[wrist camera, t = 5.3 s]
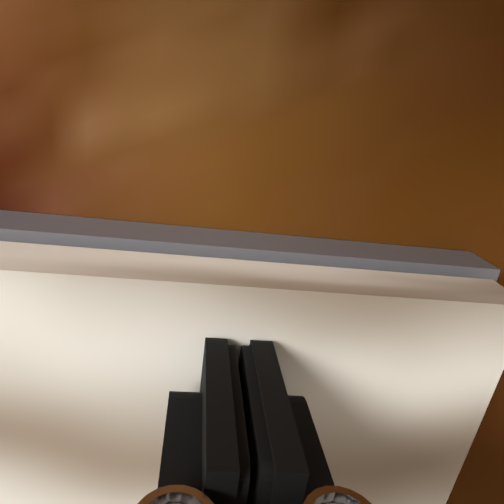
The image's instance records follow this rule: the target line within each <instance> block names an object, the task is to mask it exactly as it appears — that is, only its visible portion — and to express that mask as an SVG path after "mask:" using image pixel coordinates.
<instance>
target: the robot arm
mask: <svg viewBox="0 0 504 504" xmlns="http://www.w3.org/2000/svg"><path fill="white" fill-rule="evenodd" d="M138 504H372V503H370V502H369V501H368V500H367V499H366V498H365V497H363V496H362V495H360V494H359V493H357V492H355V491H353V490H351V489H348V488H345V487H341V486H335V485H334V482H333V479H332V476H331V473H330V470H329V467H328V464H327V461H326V458H325V455H324V452H323V449H322V446H321V443H320V440H319V437H318V434H317V431H316V428H315V425H314V422H313V419H312V416H311V413H310V410H309V407H308V404H307V401H306V399H305V397H303V396H292V395H288V394H287V390H286V387H285V383H284V380H283V376H282V372H281V369H280V365H279V362H278V358H277V354H276V351H275V347H274V344H273V341H263V340H250V345H249V346H246V345H242V346H241V350H240V357H239V365H238V359H237V351H236V345H228V339H225V338H207V337H205V345H204V355H203V364H202V374H201V383H200V392H180V391H169V398H168V406H167V414H166V423H165V431H164V439H163V447H162V456H161V464H160V472H159V480H158V488H157V489H155V490H154V491H152V492H150V493H149V494H147V495H145V496H144V497H143V498H142V500H141V501H140V502H139V503H138Z"/></svg>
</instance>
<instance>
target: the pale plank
mask: <svg viewBox="0 0 504 504" xmlns="http://www.w3.org/2000/svg"><path fill="white" fill-rule="evenodd" d="M205 337H207V338H225V339H228V345H236V351H237V359H238V365H239V357H240V350H241V346H242V345H246V346H249V345H250V340H263V341H273V344H274V347H275V351H276V354H277V358H278V362H279V365H280V369H281V372H282V376H283V380H284V383H285V387H286V390H287V394H288V395H292V396H303V397H305V399H306V401H307V404H308V407H309V410H310V413H311V416H312V419H313V422H314V425H315V428H316V431H317V434H318V437H319V440H320V443H321V446H322V449H323V452H324V455H325V458H326V461H327V464H328V467H329V470H330V473H331V476H332V479H333V482H334V485H335V486H341V487H345V488H348V489H351V490H353V491H355V492H357V493H359V494H360V495H362V496H363V497H365V498H366V499H367V500H368V501H369V502H370V503H372V504H446V502H447V500H448V498H449V495H450V493H451V491H452V488H453V486H454V484H455V481H456V479H457V477H458V474H459V472H460V470H461V467H462V465H463V463H464V461H465V458H466V456H467V454H468V451H469V449H470V447H471V444H472V442H473V440H474V437H475V435H476V433H477V430H478V428H479V426H480V423H481V421H482V419H483V416H484V414H485V412H486V409H487V407H488V405H489V402H490V400H491V398H492V395H493V393H494V391H495V388H496V386H497V384H498V381H499V379H500V377H501V374H502V372H503V370H504V287H503V286H501V285H500V284H498V283H497V282H496V281H494V280H493V279H480V278H467V277H454V276H442V275H429V274H416V273H403V272H391V271H378V270H365V269H352V268H340V267H327V266H314V265H301V264H288V263H276V262H263V261H250V260H237V259H225V258H212V257H199V256H186V255H174V254H161V253H148V252H135V251H122V250H110V249H97V248H84V247H71V246H59V245H46V244H33V243H20V242H8V241H0V504H138V503H139V502H140V501H141V500H142V498H143V497H144V496H145V495H147V494H149V493H150V492H152V491H154V490H155V489H157V488H158V480H159V472H160V464H161V456H162V447H163V439H164V431H165V423H166V414H167V406H168V398H169V391H180V392H200V383H201V374H202V364H203V355H204V345H205Z"/></svg>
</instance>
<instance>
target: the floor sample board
mask: <svg viewBox="0 0 504 504" xmlns="http://www.w3.org/2000/svg"><path fill="white" fill-rule="evenodd" d="M0 241H8V242H20V243H33V244H46V245H59V246H71V247H84V248H97V249H110V250H122V251H135V252H148V253H161V254H174V255H186V256H199V257H212V258H225V259H237V260H250V261H263V262H276V263H288V264H301V265H314V266H327V267H340V268H352V269H365V270H378V271H391V272H403V273H416V274H429V275H442V276H454V277H467V278H480V279H493V280H494V281H496V282H497V279H498V276H499V274H500V271H501V270H500V269H499V268H497V267H495V266H494V265H492V264H490V263H489V262H487V261H485V260H484V259H482V258H480V257H479V256H477V255H475V254H474V253H472V252H470V251H460V250H448V249H437V248H426V247H415V246H403V245H392V244H381V243H369V242H358V241H347V240H335V239H324V238H313V237H301V236H290V235H279V234H267V233H256V232H245V231H234V230H222V229H211V228H200V227H188V226H177V225H166V224H154V223H143V222H132V221H120V220H109V219H98V218H86V217H75V216H64V215H53V214H41V213H30V212H19V211H7V210H0Z"/></svg>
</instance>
